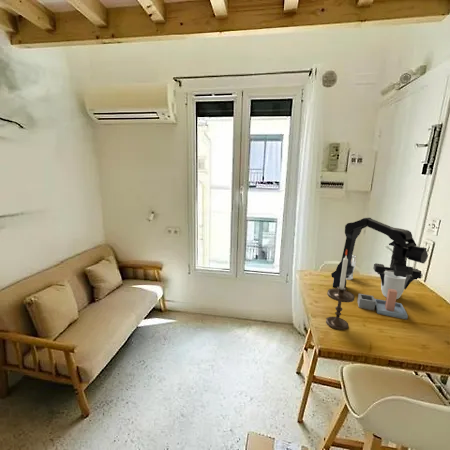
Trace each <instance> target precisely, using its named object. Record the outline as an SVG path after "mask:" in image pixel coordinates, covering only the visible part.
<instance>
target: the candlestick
mask: <svg viewBox="0 0 450 450" xmlns="http://www.w3.org/2000/svg"><path fill="white" fill-rule="evenodd" d="M345 255H347V249H346V252H345ZM347 263H348V259H347V256H345V258H343V264H342V272H341V279H340V287H337V288H330V289H328V290H327V293H326V295H327V296H328V297H329V298H330V299H331V300H334V301H337V306H335V312H334V313H335V316H328V317H326V320H325V324H326V325H327V326H328V327H330V328H332V329H334V330H339V331H344V330H345V331H346V330H347V329H348V328H349V323H348V322H347V320H344V318H341V315H342V313H341V312H342V311H343V308H342V303H352V302H354V301H355V298H356V297H355V295H354V293H352V292H351V291H348V290H347V287H346V288H344V285H345V278H346V271H347Z"/></svg>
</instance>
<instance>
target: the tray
mask: <svg viewBox="0 0 450 450" xmlns="http://www.w3.org/2000/svg"><path fill="white" fill-rule="evenodd" d="M374 299H375V308H374V309H375V311H376V313H377V315H383V316H387V317H393V318H397V319H403V320H408V317H409V316H408V315H409V314H408V313H407V311H406V309H405V307H404V306H403V304H402V303H400V302H396V303H395V308H394V312H393V311H388V310H386V308H385V304H386V300H384V299H377V298H374Z"/></svg>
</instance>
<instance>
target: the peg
mask: <svg viewBox="0 0 450 450" xmlns="http://www.w3.org/2000/svg"><path fill="white" fill-rule="evenodd" d="M396 297H397V291H396V290H394V289H388V293H387V297H386V300H385V301H386V304H385V308H386V310H388V311H393V312H394V308H395V303H397V299H396Z"/></svg>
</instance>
